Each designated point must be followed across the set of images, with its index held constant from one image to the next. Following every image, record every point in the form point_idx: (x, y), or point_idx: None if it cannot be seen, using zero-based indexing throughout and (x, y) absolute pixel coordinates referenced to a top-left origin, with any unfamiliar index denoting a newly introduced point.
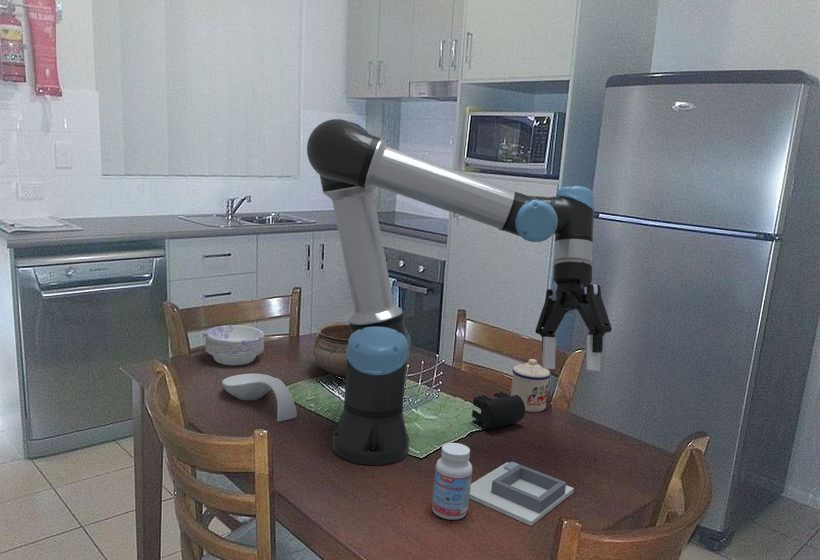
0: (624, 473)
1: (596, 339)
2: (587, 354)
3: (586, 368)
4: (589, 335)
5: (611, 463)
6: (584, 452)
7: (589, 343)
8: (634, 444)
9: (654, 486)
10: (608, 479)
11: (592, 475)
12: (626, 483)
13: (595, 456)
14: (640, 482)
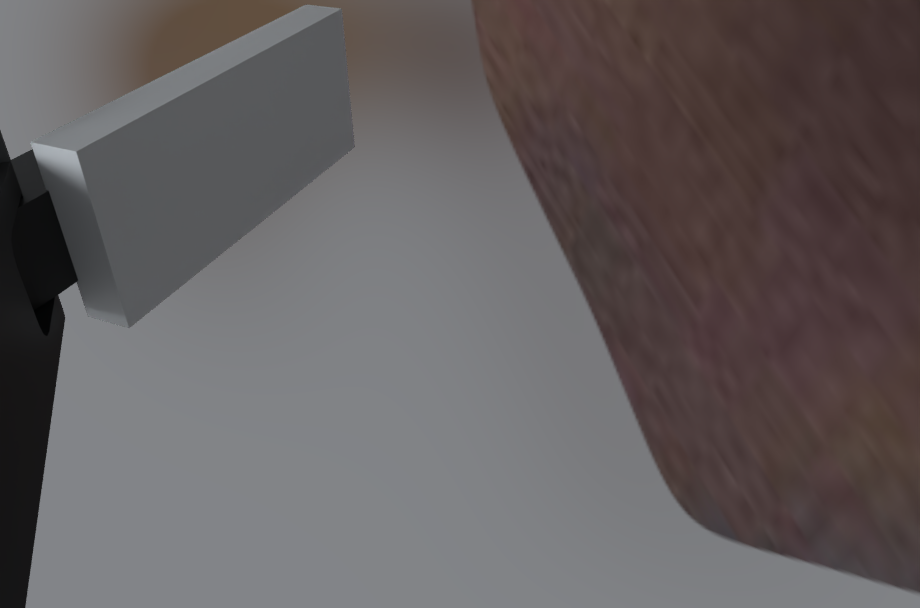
0: (652, 191)
1: (31, 154)
2: (235, 55)
3: (331, 10)
4: (43, 144)
5: (745, 231)
6: (912, 224)
7: (120, 99)
8: (819, 521)
9: (536, 195)
10: (648, 69)
11: (708, 27)
12: (593, 113)
13: (841, 232)
14: (575, 176)
